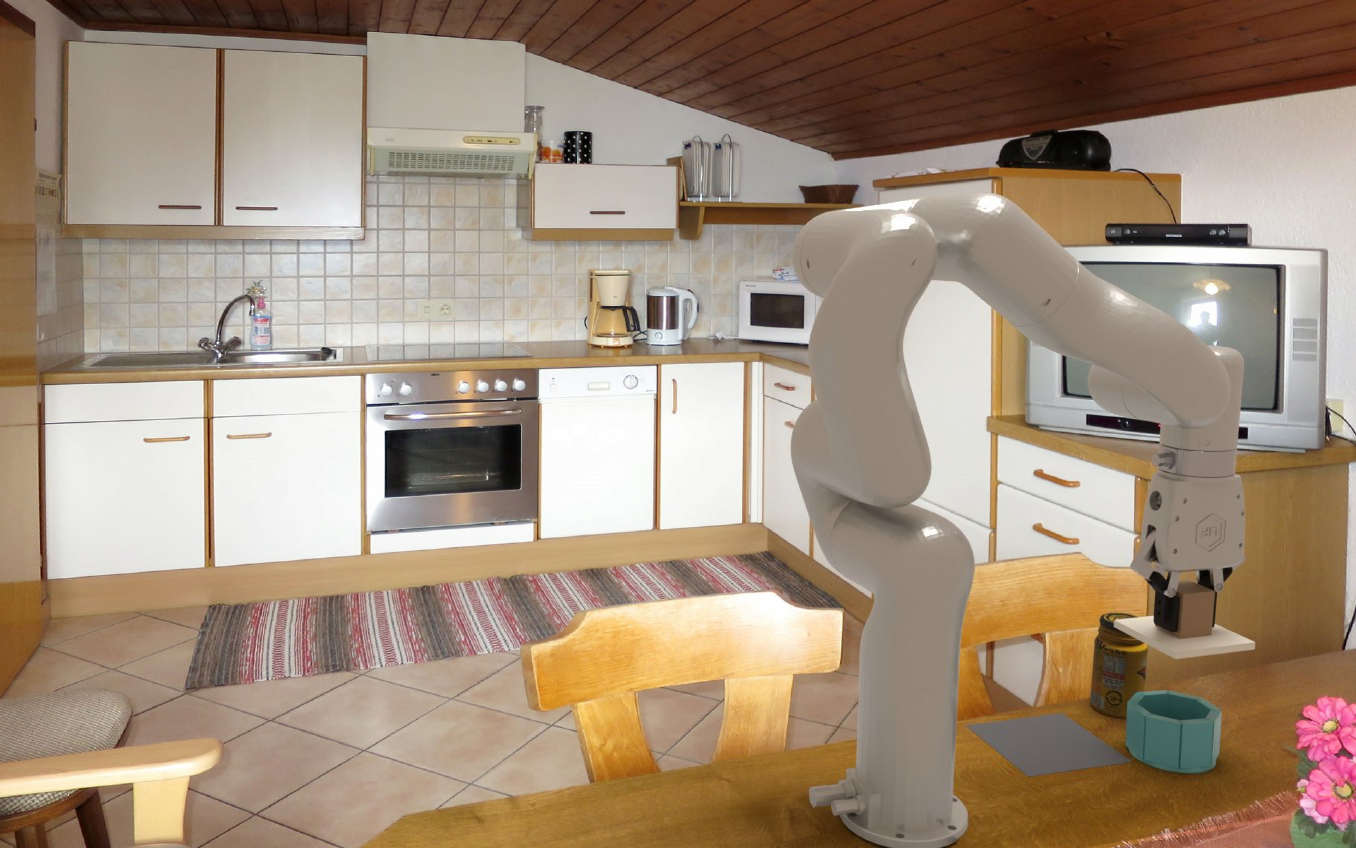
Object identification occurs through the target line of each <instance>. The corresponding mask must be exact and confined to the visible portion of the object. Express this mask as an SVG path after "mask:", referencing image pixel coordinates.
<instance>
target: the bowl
mask: <svg viewBox="0 0 1356 848" xmlns="http://www.w3.org/2000/svg"><path fill="white" fill-rule="evenodd" d="M1222 713H1223V711H1222V709H1220V708H1219V707H1218V706H1215V705H1214V704H1213V703H1211V702H1210V701H1208V700H1206V699H1205V698H1203V697H1201V696H1197V695H1193V694H1192V695H1191V694H1187V693H1182V692H1179V691H1178V692H1177V691H1173V690H1166V689H1165V690H1151V691H1150V690H1149V691H1144V692H1137V693H1135V695H1134V696H1133V697H1132V698H1131V699H1130V700H1129V701H1128V702H1127V718H1126V723H1125V724H1126V725H1125V747H1127V749H1128V752H1129V753H1130V754H1131V755H1132V757H1134V758H1135V759H1136V760H1138V761H1139V762H1142V763H1143V764H1145V765H1147V766H1149V767H1150V766H1151V767H1153V768H1156V769H1159V770H1162V771H1163V770H1164V771H1168V772H1171V773H1179V774H1201V773H1205V772H1209V771H1211V770H1212V769H1214V768H1215V767H1216V765H1217V758H1218V756H1219V755H1220V749H1221V747H1220V746H1221V735H1222V734H1221V729H1222Z"/></svg>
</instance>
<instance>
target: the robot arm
mask: <svg viewBox="0 0 1356 848" xmlns="http://www.w3.org/2000/svg"><path fill="white" fill-rule="evenodd" d="M791 254H792V255H791V256H792V257H791V259H792V260H791V262H792V266H793V270H794V273H795V275H796V277H797V279H798V281H799V283H801V285H802V286H803V287H804V288H805V289H806V290H807V291H808V292H809V293H811V294H813V295H814V296H816V297H819V298H820V299H821V298H822V301H821V303H820V306H819V308H818V311H817V313H816V316H815V319H814V321H813V324H812V328H811V332H810V334H809V340H808V347H807V349H808V350H807V356H808V367H809V368H808V369H809V374H810V378H811V382H812V386H813V388H814V389H813V390H814V394H815V396H816V397H815V398H816V399H815V400H814V401H811V403H809V404H808V405H807V406H806V407H805V408H804V409H803V410H802V411H801V412H800V414H799V415H798V417H797V418H796V420H795V423H794V426H793V429H792V432H791V439H790V457H791V464H792V467H793V471H794V475H795V478H796V481H797V484H798V487H799V490H800V493H801V495H802V499H803V503H804V504H805V509H806V511H807V514H808V517H809V520H810V522H811V526H812V528H813V532H814V535H815V538H816V541H817V542H818V545H819V548H820V550H821V552H822V554H823V555H824V558H825V559H826V561H827V562H828V564H829V565H830V566H831V568H833V569H834V570H835V571H836V572H837V573H839V574H840V575H841V576H843V577H845V578H846V579H848V580H850V581H851V582H853V583H854V584H856V585H858V586H860V587H862V588H864V589H866V591H868V592H870V593H872V594H873V597H874V599H873V600H874V601H873V605H872V608H871V610H870V613H869V615H868V618H867V619H866V622H865V625H864V627H863V630H862V632H861V633H862V634H861V638H860V645H859V660H858V661H859V663H858V666H859V671H858V699H857V700H858V701H857V703H858V704H857V728H856V729H857V731H856V762H855V764H856V765H855V767H850V768H847V769H846V771H845V777H846V778H845V779H841V780H838V782H837V783H836V784H830V785H828V784H824V785H817V786H816V785H815V786H810V787H809V789H808V800H809V802H810V804H811V806H812V808H820V807H825V806H826V807H827V806H830V808H831V813H832V814H833V816H835V817H837V816H840V819H841V821H842V823H843V824H844V825H845V826H846V827H847V829H848V830H849V831H851V832H853V834H855V835H857V836H858V837H860V838H862V839H863V840H866V841H867V842H871V843H873V844H875V845H879V846H881V847H882V846H883V847H886V848H944V847H946V846H949V845H951V844H954V843H956V842H957V841H958V840H960V839H959V838H961V837H962V836H963V835H964V834H965V833H966V831H967V829H968V826H969V813H968V809H967V807H966V805H965V804H964V803H963V802H962V800H961V799H959V797H957V796H956V795H955V794H954V781H955V780H954V779H955V762H956V760H955V758H956V742H957V741H956V740H957V739H956V738H957V721H958V720H957V718H958V699H959V697H958V696H959V679H960V677H959V676H960V660H961V659H960V658H961V657H960V655H961V644H962V634H963V633H962V632H963V625H964V620H965V614H966V612H967V611H966V610H967V607H968V606H967V605H968V601H969V600H970V599H969V598H970V594H971V590H972V588H973V583H974V580H975V579H974V578H975V571H976V570H975V569H976V560H975V554H974V551H973V548H972V545H971V543H970V541H969V539H968V538H967V536H966V534H965V533H964V532H963V530H961V529H960V528H959V527H958V526H957V525H956V524H955V523H953V522H952V521H950V520H949V519H948V518H945V517H944V516H942V515H941V514H938V513H936V512H934V511H931V510H928V509H926V508H923V507H922V506H918V505H915V504H913V503H914V502H915V501H918V499H920V497H922V496H923V495H924V493H925V492H926V490H927V488H928V486H929V483H930V482H931V481H930V480H931V476H932V459H931V458H932V457H931V452H930V448H929V447H930V446H929V443H928V439H927V437H926V433H925V430H924V427H923V423H922V419H921V416H920V412H919V410H918V406H917V402H916V400H915V396H914V393H913V390H912V386H911V383H910V379H909V375H908V371H907V367H906V362H905V356H904V355H905V354H904V339H905V333H906V330H907V326H908V323H909V320H910V317H911V316H912V314H913V311H914V309H916V306H917V304H918V302H919V301H920V300H921V298H922V296H923V295H924V293H925V292H926V290H927V288H928V287H929V285H930V283H931V282H932V281H942V282H956V283H958V284H961V285H963V286H964V287H966V288H967V289H969V290H970V291H971V292H972V293H973V294H975V295H976V296H977V297H979V298H980V299H981V300H982V301H983V302H984V303H986V304H987V305H988V306H989V307H990V308H992V309H993V310H994V311H995V312H996V313H998V315H1000V316H1001V317H1002V318H1003V319H1005V320H1006V321H1007V322H1008V323H1009V324H1010V325H1012V326H1013V327H1014V328H1015V329H1016V330H1017V331H1019V332H1020V334H1022V335H1023V336H1024V337H1025V338H1027V339H1028V340H1029V341H1031V342H1032V343H1035V344H1036V345H1039V346H1040V347H1043V348H1045V349H1047V350H1049V351H1051V352H1054V353H1056V354H1059V355H1061V356H1063V357H1067V358H1070V359H1074V360H1077V361H1081V362H1084V363H1087V364H1090V365H1091V367H1090V368H1089V370H1088V371H1089V372H1088V375H1087V389H1088V392H1089V394H1090V397H1091V398H1092V400H1093V401H1094V402H1095V403H1096V404H1097V405H1098V406H1099V407H1100V408H1101V409H1102V410H1105V411H1106V412H1109V413H1110V414H1114V415H1117V416H1120V417H1124V418H1127V419H1128V418H1129V419H1132V420H1133V419H1134V420H1139V421H1146V422H1152V423H1155V424H1156V423H1157V424H1160V431H1159V445H1158V453H1154V454H1153V455H1152V456H1151V464H1152V465H1153V466H1154V467H1157V471H1156V472H1153V474H1152V477H1151V481H1150V484H1149V488H1148V490H1147V491H1148V492H1147V495H1146V500H1145V504H1144V510H1143V517H1142V523H1141V532H1140V548H1139V550H1138V551H1137V553H1136V555H1135V557H1134V558H1133V560H1132V561H1131V563H1130V565H1129V567H1130V569H1131V571H1132V572H1134V573H1136V574H1138V575H1139V576H1141V577H1143V579H1144V580H1145V581H1146V583H1148V584H1149V587H1150V589H1151V590H1152V591H1154V604H1153V605H1154V606H1153V616H1154V619H1153V621H1154V624H1155V625H1157V626H1159V627H1161V628H1163V629H1165V630H1167V631H1169V632H1177V630H1178V620H1179V607H1180V597H1178V596H1176V595H1175V594H1176V592H1177V588H1178V583H1179V581H1180V578H1181V574H1182V573H1186V572H1195V575H1196V577H1195V578H1196V583H1197V584H1200V585H1202V586H1204V587H1207V588H1209V589H1211V590H1214V591H1215V598H1214V610H1213V622H1212V628H1213V627H1214V626H1215V624H1216V612H1217V601H1218V593H1221V592H1222V591H1223V589H1224V587H1225V585H1224V583H1225V582H1226V581H1227V580H1228V579H1229V577H1230V576H1231V575H1232V573H1233V571H1235V570H1237V569H1238V568H1239V567H1240V566H1241V565H1242V564H1244V563H1245V562H1246V560H1247V559H1246V555H1245V543H1246V542H1245V541H1246V540H1245V539H1246V506H1245V505H1246V503H1245V502H1246V501H1245V493H1244V492H1245V491H1244V487H1243V481H1242V477H1241V475H1240V474H1238V473H1237V474H1236V468H1237V467H1236V466H1237V453H1238V442H1239V439H1238V438H1239V432H1240V431H1239V430H1240V429H1239V428H1240V420H1241V408H1242V407H1241V406H1242V397H1243V396H1242V395H1243V392H1242V391H1243V383H1244V371H1245V368H1244V367H1245V361H1244V357H1243V355H1242V353H1241V352H1239V351H1238V350H1237V349H1235V348H1232V347H1227V346H1221V345H1207V344H1206V343H1205V342H1204V341H1203V340H1202V339H1201V338H1200V337H1199V336H1198V335H1196V333H1195V332H1193V331H1192V330H1191V329H1190V328H1188V327H1187V326H1186V325H1184V324H1183V323H1181V321H1179V320H1177V318H1174V317H1172V316H1171V315H1169V314H1168V313H1166V312H1165V311H1163V310H1162V309H1160V308H1157V307H1155V306H1154V305H1152V304H1150V303H1148V302H1147V301H1144V300H1142V299H1139V298H1138V297H1136V296H1135V295H1132V294H1131V293H1129V292H1127V290H1124V289H1122V288H1121V287H1119V286H1116V285H1115V284H1112V283H1110V282H1108V281H1107V280H1104V279H1102V278H1100V277H1098V276H1097V275H1095V274H1094V273H1092V271H1090V270H1089V269H1088V268H1086V267H1085V266H1084V265H1083V264H1082V263H1081V262H1080V261H1079V260H1077V259H1076V258H1075V256H1073V255H1072V254H1071V253H1069V252H1068V251H1067V250H1066V249H1065V248H1064V247H1063V246H1062V244H1060V243H1059V242H1058V240H1055V239H1054V237H1053V236H1051V235H1050V234H1049V233H1048V232H1047V231H1046V230H1045V229H1044V228H1043V227H1042V226H1040V225H1039V224H1038V222H1036V221H1035V220H1034V218H1032V217H1030V215H1029V214H1028V213H1026V212H1025V211H1024V210H1023V209H1022V208H1021V207H1019V205H1017V203H1015V202H1013V201H1012V200H1010V199H1009V198H1007V197H1005V196H1003V195H1001V194H998V193H994V192H983V191H979V192H978V191H976V192H963V193H962V192H960V193H943V194H942V193H941V194H939V193H938V194H931V195H926V196H921V197H916V198H915V197H914V198H910V199H909V198H908V199H905V200H904V199H903V200H900V201H899V200H898V201H894V202H887V203H886V202H885V203H881V204H873V205H866V206H865V205H864V206H858V207H853V208H852V207H851V208H844V209H838V210H836V209H835V210H831V211H825V212H823V213H820V214H819V215H818V214H817V216H814V217H813V218H812V219H811V220H809V221H808V222H807V223H806V224H805V225H803V226H802V228H801V229H800V231H799V232H798V234H797V236H796V237H795V240H794V242H793V247H792V252H791ZM1152 563H1154V565H1153V567H1152ZM1166 572H1167V575H1166ZM1165 576H1166V578H1165Z"/></svg>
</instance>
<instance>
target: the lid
mask: <svg viewBox="0 0 1356 848" xmlns="http://www.w3.org/2000/svg"><path fill="white" fill-rule="evenodd" d="M1175 595H1176V596H1178V597H1180V607H1179V620H1178V630H1177V632H1169V631H1167V630H1165V629H1163V628H1161V627H1159V626H1157V625H1155V624H1154V621H1153V619H1154V615H1150V616H1149V615H1148V616H1147V615H1146V616H1138V617H1137V618H1128V619H1119V620H1114V627H1115V628H1117V629H1119V630H1121V631H1123V632H1125V633H1127V634H1128V635H1130V636H1132V637H1134V638H1136V639H1138V640H1140V641H1142V642H1144V643H1146V644H1147V645H1148V646H1150V647H1151V648H1153V649H1155V650H1157V651H1159V652H1161V653H1163V654H1164V655H1167V656H1168V657H1170V658H1172V659H1174V660H1178V659H1187V658H1196V657H1205V656H1213V655H1220V654H1221V655H1222V654H1228V653H1236V652H1244V651H1245V652H1246V651H1252V650H1255V649H1256V641H1254V640H1252V639H1249V638H1248V637H1244V636H1242V635H1240V634H1238V633H1236V632H1234V631H1232V630H1230V629H1228V628H1225V627H1223V626H1221V625H1219V624H1216V623H1215V626H1214V627H1213V628H1212V622H1213V610H1214V598H1215V591H1214V590H1211V589H1209V588H1207V587H1204V586H1202V585H1200V584H1198V583H1197V582H1195V581H1192V580H1190V579H1187V580H1186V579H1185V580H1179V583H1178V588H1177V592H1176V594H1175Z"/></svg>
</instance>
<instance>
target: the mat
mask: <svg viewBox="0 0 1356 848" xmlns="http://www.w3.org/2000/svg"><path fill="white" fill-rule="evenodd" d="M965 726H966V728H968V729H969V730H971V731H972V733H974V734H975V735H976V736H977V737H979V738H980V739H981V740H982V741H984V742H985V743H987V745H988V746H990V747H991V748H992V749H994V750H995V751H996V752H997V753H998V754H1000V755H1001V756H1002V757H1004V758H1005V760H1007V761H1008V762H1010V763H1011V764H1012V765H1013V766H1014V767H1016V768H1017V769H1018V770H1019V771H1021V773H1023V774H1024V775H1025V776H1027V777H1028V778H1031V777H1038V776H1039V777H1040V776H1045V775H1051V774H1058V773H1065V772H1072V771H1080V770H1086V769H1087V770H1088V769H1094V768H1101V767H1107V766H1114V765H1124V764H1129V763H1133V761H1132V760H1131V759H1130V758H1128V757H1126V756H1125V755H1124V754H1122V753H1121V752H1119V751H1118V750H1117V749H1115V748H1113V747H1112V746H1110V745H1109V744H1107V743H1106V742H1104V741H1103V740H1102V739H1100V738H1099V737H1097V736H1096V735H1095V734H1094V733H1092V732H1090V731H1088V730H1087V729H1086V728H1084V727H1083V726H1082V725H1080V724H1079V723H1077V722H1076V721H1074V720H1072V719H1071V718H1070V717H1068V716H1067V715H1065V714H1064V713H1063V712H1061V713H1051V714H1045V715H1043V714H1042V715H1037V716H1030V717H1021V718H1012V719H1004V720H997V721H989V722H982V723H981V722H979V723H973V724H965Z"/></svg>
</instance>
